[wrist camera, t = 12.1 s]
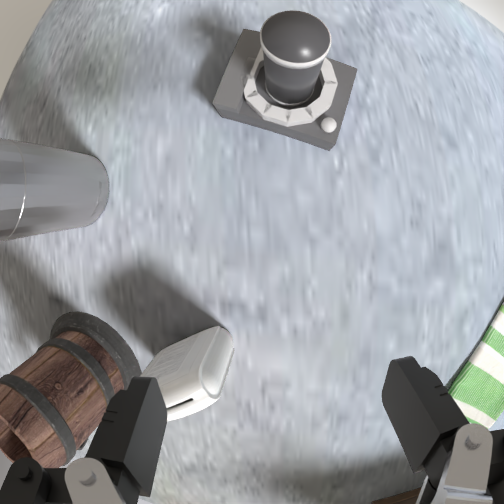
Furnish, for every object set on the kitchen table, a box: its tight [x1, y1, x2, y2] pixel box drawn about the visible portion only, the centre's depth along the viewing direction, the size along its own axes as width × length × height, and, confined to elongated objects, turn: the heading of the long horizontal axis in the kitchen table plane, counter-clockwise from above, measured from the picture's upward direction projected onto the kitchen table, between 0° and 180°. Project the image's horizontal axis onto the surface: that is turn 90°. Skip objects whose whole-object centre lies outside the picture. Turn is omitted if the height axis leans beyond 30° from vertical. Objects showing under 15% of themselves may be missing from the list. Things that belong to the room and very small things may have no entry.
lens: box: [260, 11, 331, 106], centre depth 21 cm, size 5×5×10 cm
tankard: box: [0, 312, 142, 468], centre depth 27 cm, size 24×17×20 cm
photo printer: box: [139, 326, 234, 421], centre depth 28 cm, size 10×4×12 cm, turn 119°
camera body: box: [213, 29, 357, 151], centre depth 27 cm, size 12×9×5 cm
